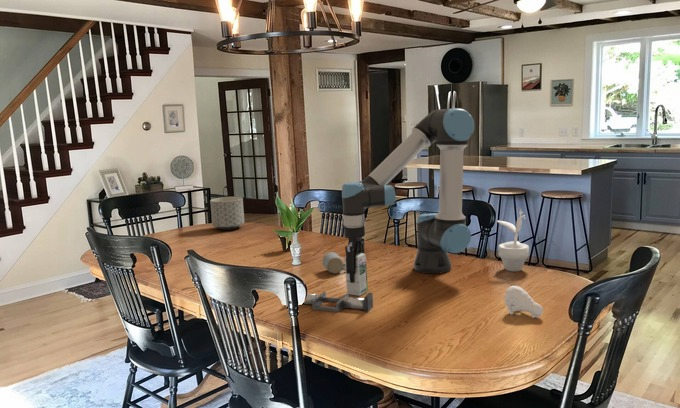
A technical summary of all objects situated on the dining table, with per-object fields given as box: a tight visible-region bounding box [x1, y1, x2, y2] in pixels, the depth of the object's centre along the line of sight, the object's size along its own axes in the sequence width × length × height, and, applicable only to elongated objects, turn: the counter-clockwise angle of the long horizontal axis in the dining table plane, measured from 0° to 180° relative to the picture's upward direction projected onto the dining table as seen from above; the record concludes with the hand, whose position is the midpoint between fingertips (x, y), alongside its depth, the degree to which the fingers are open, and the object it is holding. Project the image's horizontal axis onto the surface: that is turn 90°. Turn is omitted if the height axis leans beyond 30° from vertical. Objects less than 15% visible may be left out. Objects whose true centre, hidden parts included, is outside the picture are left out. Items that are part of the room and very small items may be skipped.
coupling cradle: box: [303, 291, 374, 313], centre depth 183 cm, size 29×10×5 cm, turn 68°
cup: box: [277, 234, 291, 253], centre depth 262 cm, size 9×9×10 cm
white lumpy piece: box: [503, 285, 544, 319], centre depth 167 cm, size 6×8×12 cm
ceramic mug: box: [321, 251, 346, 275], centre depth 224 cm, size 11×8×8 cm
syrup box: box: [344, 253, 369, 297], centre depth 195 cm, size 6×6×14 cm
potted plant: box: [496, 209, 530, 272], centre depth 213 cm, size 13×12×25 cm
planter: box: [209, 196, 245, 231], centre depth 322 cm, size 19×19×18 cm
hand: (357, 287), depth 196 cm, fingers closed on syrup box, 6 cm apart
